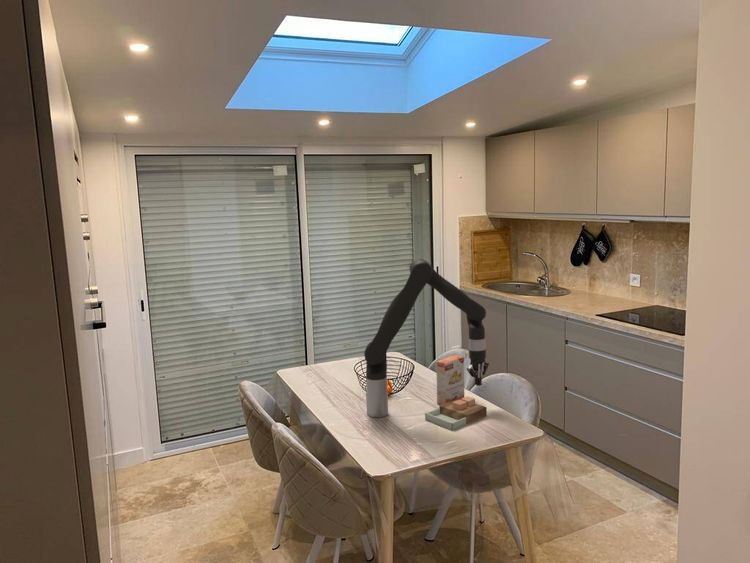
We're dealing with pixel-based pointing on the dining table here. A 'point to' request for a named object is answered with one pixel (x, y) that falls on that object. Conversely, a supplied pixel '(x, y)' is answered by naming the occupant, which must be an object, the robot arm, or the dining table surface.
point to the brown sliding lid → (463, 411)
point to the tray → (444, 420)
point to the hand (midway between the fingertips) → (478, 385)
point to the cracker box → (450, 379)
